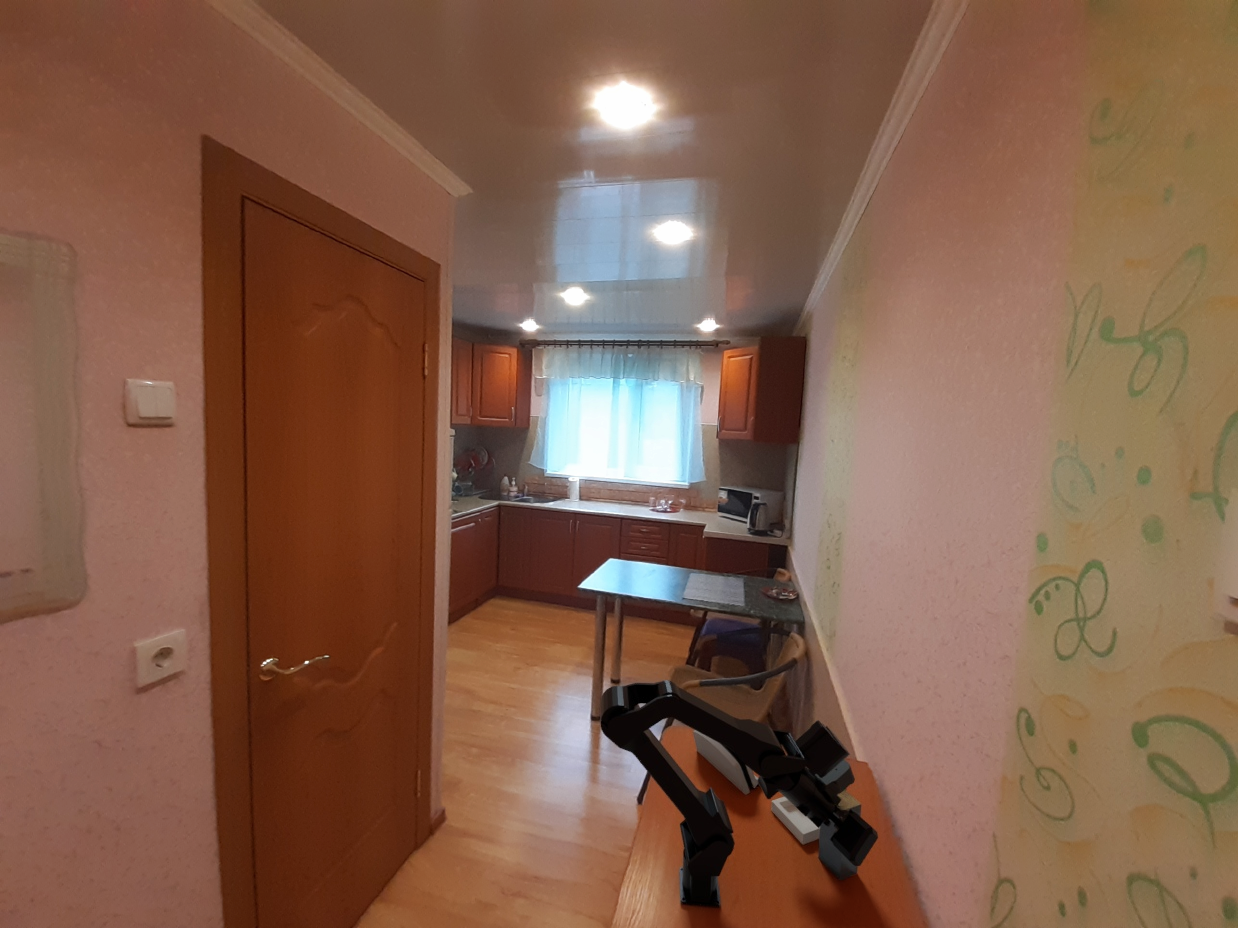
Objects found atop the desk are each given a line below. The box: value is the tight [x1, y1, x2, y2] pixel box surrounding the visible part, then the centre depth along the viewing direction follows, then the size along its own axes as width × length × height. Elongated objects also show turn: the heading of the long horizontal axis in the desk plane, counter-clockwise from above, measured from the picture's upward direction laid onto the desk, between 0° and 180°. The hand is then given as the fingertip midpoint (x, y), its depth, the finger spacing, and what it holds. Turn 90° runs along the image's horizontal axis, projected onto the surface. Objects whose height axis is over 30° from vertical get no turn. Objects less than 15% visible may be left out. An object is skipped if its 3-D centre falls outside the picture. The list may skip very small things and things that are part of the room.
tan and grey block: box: [817, 790, 862, 882], centre depth 90 cm, size 5×4×13 cm
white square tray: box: [770, 796, 820, 846], centre depth 101 cm, size 9×9×2 cm
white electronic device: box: [692, 729, 760, 795], centre depth 115 cm, size 17×5×10 cm, turn 30°
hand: (845, 828), depth 91 cm, fingers closed on tan and grey block, 5 cm apart
